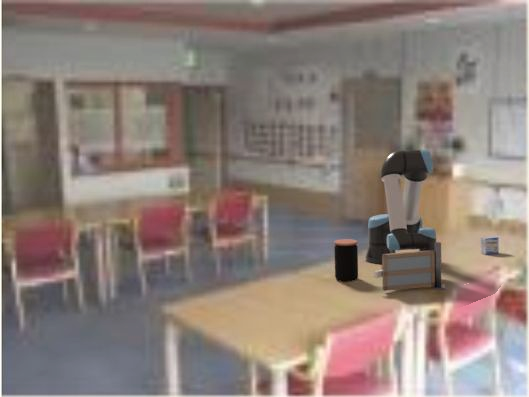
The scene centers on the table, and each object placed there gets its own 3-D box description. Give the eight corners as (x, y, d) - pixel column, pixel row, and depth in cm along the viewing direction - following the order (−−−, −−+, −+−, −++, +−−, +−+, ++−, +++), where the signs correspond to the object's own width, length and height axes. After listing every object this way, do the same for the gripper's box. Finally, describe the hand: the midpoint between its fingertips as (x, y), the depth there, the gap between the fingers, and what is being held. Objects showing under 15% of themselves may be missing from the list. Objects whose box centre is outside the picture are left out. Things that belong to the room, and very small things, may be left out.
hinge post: (430, 289, 303) (430, 244, 300) (431, 285, 309) (430, 241, 306) (445, 289, 301) (444, 244, 299) (445, 286, 307) (444, 241, 304)
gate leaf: (433, 284, 305) (432, 250, 303) (434, 285, 304) (434, 250, 302) (382, 289, 301) (382, 254, 299) (384, 290, 300) (383, 255, 297)
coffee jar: (343, 275, 334) (342, 238, 331) (362, 278, 327) (361, 240, 324) (330, 280, 325) (329, 242, 323) (350, 283, 319) (349, 244, 316)
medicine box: (485, 255, 363) (485, 238, 362) (480, 253, 368) (480, 237, 366) (498, 253, 365) (498, 237, 364) (493, 251, 370) (493, 235, 368)
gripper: (424, 276, 309) (386, 286, 295) (402, 271, 319) (364, 280, 306) (424, 259, 308) (386, 268, 294) (402, 255, 318) (364, 263, 305)
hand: (375, 274), depth 300 cm, fingers closed
